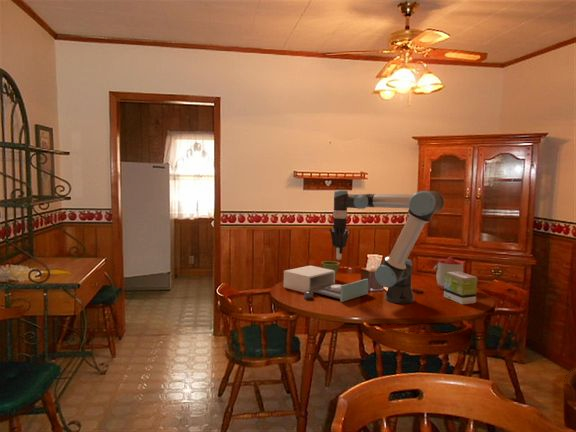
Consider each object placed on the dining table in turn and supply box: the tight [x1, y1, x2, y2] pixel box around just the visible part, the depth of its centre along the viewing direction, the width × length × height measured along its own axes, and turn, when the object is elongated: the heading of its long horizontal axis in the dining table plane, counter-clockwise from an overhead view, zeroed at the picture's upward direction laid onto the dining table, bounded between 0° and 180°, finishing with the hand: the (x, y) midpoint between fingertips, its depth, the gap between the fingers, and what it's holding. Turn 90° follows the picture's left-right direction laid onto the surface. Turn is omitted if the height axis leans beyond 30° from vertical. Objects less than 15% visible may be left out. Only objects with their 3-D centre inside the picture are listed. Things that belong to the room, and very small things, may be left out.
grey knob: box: [303, 291, 314, 301], centre depth 246 cm, size 5×5×4 cm
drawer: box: [310, 278, 369, 303], centre depth 255 cm, size 24×24×9 cm
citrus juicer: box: [433, 256, 465, 291], centre depth 273 cm, size 16×17×20 cm
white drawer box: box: [283, 265, 336, 294], centre depth 270 cm, size 20×24×10 cm
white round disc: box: [331, 284, 343, 291], centre depth 256 cm, size 8×8×2 cm
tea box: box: [443, 271, 478, 305], centre depth 248 cm, size 15×10×15 cm, turn 21°
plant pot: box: [320, 260, 341, 281], centre depth 290 cm, size 12×12×11 cm
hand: (338, 258), depth 254 cm, fingers closed
